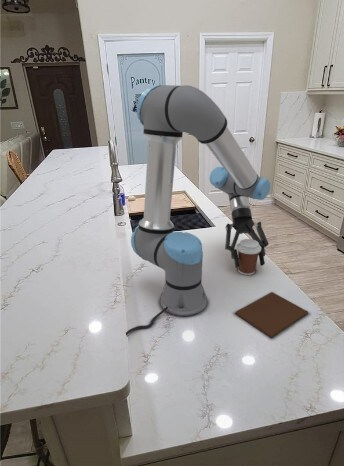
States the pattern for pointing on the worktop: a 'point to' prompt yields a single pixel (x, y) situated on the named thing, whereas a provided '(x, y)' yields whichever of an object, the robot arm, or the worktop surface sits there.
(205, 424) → the worktop surface
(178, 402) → the worktop surface
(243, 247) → the coffee cup
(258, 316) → the brown mat
